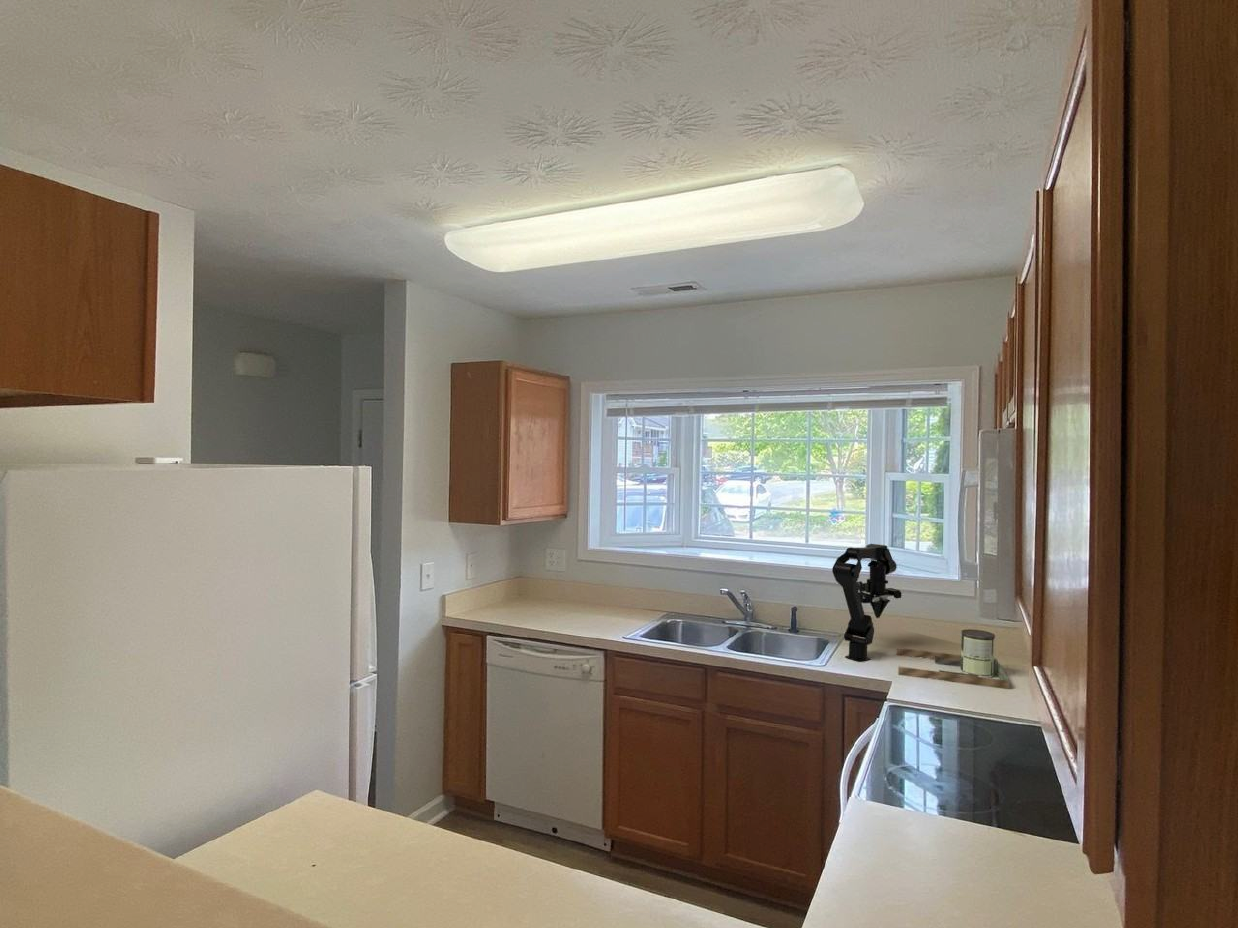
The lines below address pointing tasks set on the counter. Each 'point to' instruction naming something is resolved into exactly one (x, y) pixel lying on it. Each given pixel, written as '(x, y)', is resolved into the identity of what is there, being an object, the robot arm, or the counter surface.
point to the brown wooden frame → (951, 676)
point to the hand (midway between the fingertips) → (877, 617)
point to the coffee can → (977, 653)
